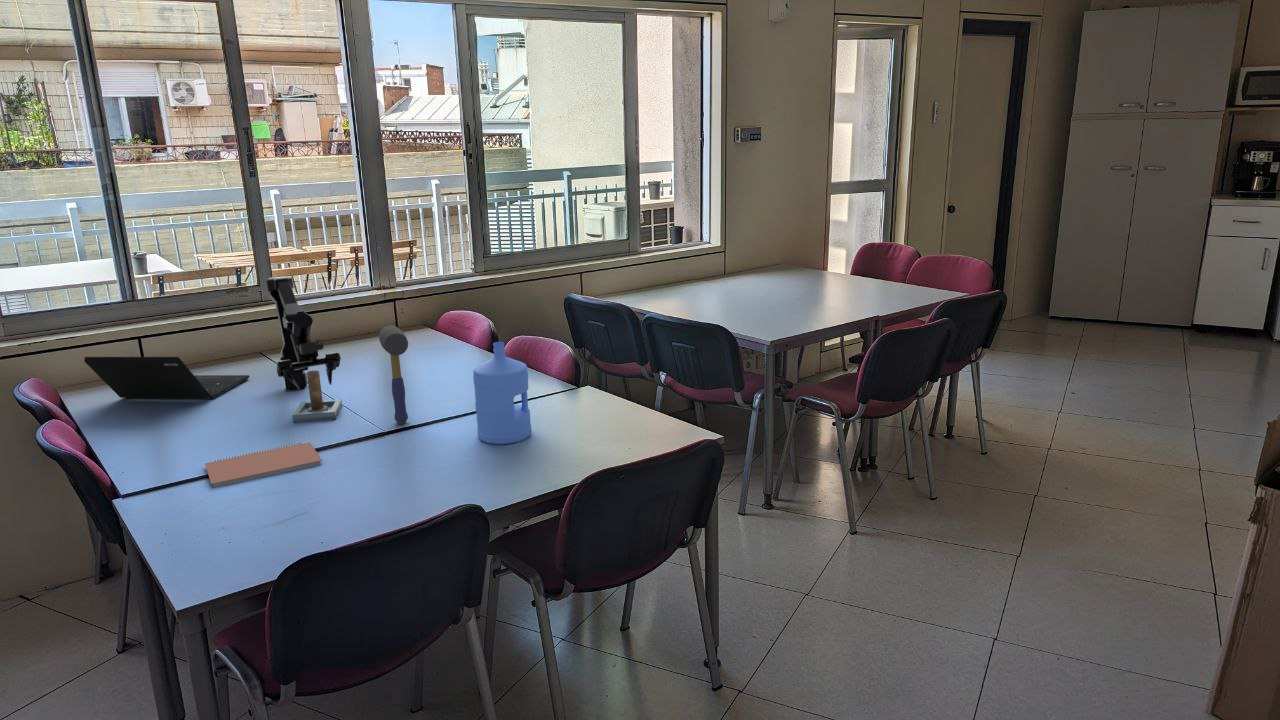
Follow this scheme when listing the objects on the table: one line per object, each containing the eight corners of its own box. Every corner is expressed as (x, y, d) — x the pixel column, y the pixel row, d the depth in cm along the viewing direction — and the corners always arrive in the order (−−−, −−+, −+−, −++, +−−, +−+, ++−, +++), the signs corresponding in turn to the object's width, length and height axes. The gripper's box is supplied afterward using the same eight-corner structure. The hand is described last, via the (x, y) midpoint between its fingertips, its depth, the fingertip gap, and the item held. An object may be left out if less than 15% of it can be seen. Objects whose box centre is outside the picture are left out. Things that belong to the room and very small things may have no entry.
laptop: (251, 379, 306) (243, 328, 300) (188, 415, 270) (178, 357, 264) (165, 378, 309) (156, 327, 304) (92, 413, 273) (80, 356, 268)
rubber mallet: (386, 418, 262) (375, 325, 254) (410, 414, 265) (401, 322, 257) (392, 431, 251) (382, 334, 243) (418, 427, 254) (408, 331, 246)
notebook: (309, 446, 242) (309, 439, 242) (322, 465, 228) (321, 459, 228) (205, 467, 228) (204, 461, 228) (212, 489, 215) (211, 482, 214)
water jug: (480, 448, 237) (473, 352, 229) (475, 429, 252) (468, 339, 244) (535, 441, 241) (530, 347, 233) (527, 423, 256) (522, 334, 248)
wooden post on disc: (304, 413, 265) (298, 374, 261) (314, 407, 270) (309, 369, 267) (321, 414, 264) (315, 375, 260) (331, 408, 269) (326, 369, 266)
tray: (293, 422, 260) (292, 415, 259) (301, 409, 272) (300, 402, 271) (335, 419, 262) (334, 411, 262) (342, 406, 274) (341, 399, 273)
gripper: (273, 336, 258) (285, 379, 252) (335, 327, 268) (348, 368, 262) (272, 355, 267) (283, 397, 261) (332, 346, 276) (345, 386, 271)
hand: (315, 386), depth 263 cm, fingers open, 9 cm apart
